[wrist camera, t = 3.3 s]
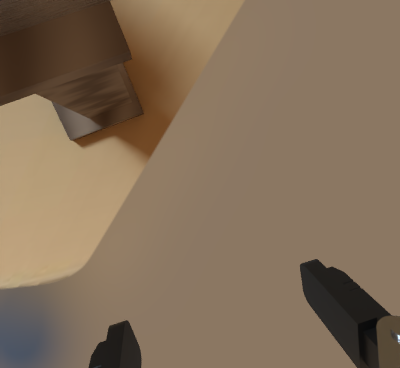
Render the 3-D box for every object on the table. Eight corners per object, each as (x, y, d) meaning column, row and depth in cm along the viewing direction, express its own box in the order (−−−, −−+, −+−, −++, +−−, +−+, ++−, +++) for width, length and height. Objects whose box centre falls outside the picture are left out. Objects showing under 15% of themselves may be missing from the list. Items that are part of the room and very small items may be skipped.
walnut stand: (72, 140, 44) (-88, 127, 14) (46, 85, 42) (-198, -60, 13) (143, 113, 45) (129, 51, 16) (120, 58, 43) (57, -128, 14)
